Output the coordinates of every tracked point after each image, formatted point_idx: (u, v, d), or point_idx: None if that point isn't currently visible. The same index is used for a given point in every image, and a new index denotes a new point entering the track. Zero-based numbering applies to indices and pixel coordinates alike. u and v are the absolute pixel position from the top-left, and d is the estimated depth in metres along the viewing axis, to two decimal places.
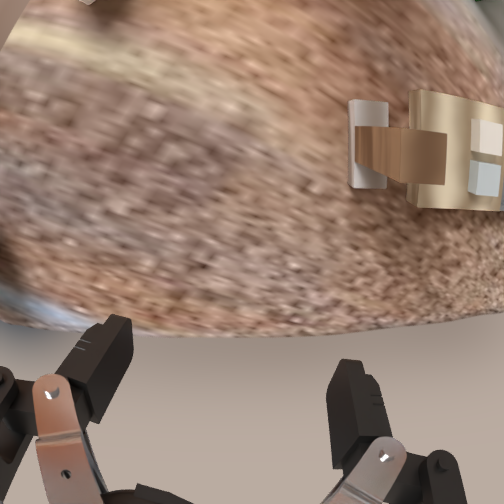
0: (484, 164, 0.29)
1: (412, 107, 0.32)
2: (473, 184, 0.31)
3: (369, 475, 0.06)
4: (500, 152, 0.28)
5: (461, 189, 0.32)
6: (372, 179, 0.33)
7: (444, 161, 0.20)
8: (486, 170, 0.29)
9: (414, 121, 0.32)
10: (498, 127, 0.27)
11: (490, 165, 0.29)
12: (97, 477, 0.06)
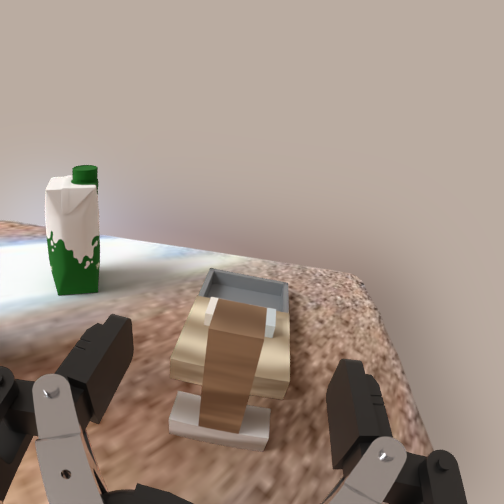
0: None
1: (186, 376, 0.36)
2: (265, 330, 0.41)
3: (369, 475, 0.06)
4: None
5: (270, 343, 0.40)
6: (259, 420, 0.29)
7: (244, 304, 0.26)
8: None
9: (201, 376, 0.35)
10: (213, 300, 0.43)
11: None
12: (97, 477, 0.06)
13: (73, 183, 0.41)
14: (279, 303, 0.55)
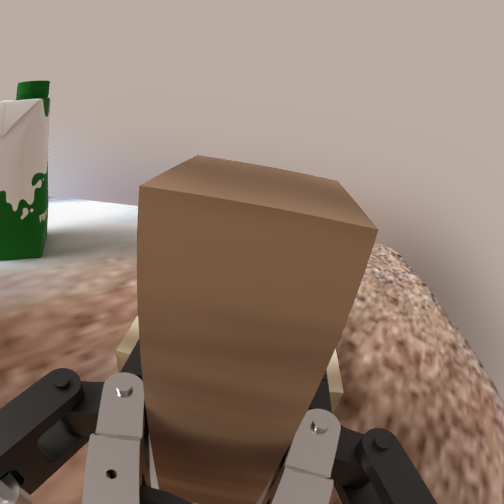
0: None
1: None
2: None
3: (308, 451, 0.07)
4: None
5: None
6: None
7: (272, 168, 0.08)
8: None
9: None
10: None
11: None
12: (144, 481, 0.06)
13: (15, 100, 0.24)
14: None
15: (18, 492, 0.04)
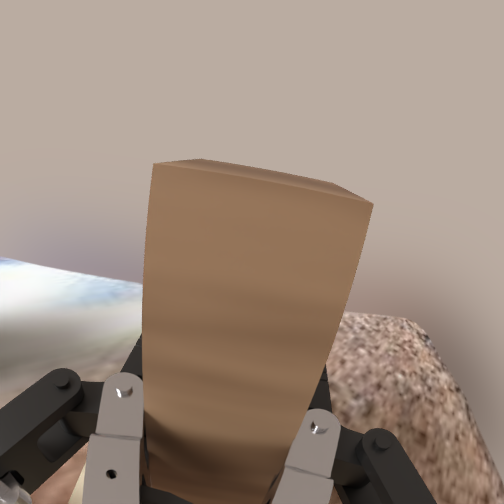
0: None
1: None
2: None
3: (308, 451, 0.07)
4: None
5: None
6: None
7: None
8: None
9: None
10: None
11: None
12: (144, 482, 0.06)
13: None
14: None
15: (18, 492, 0.04)
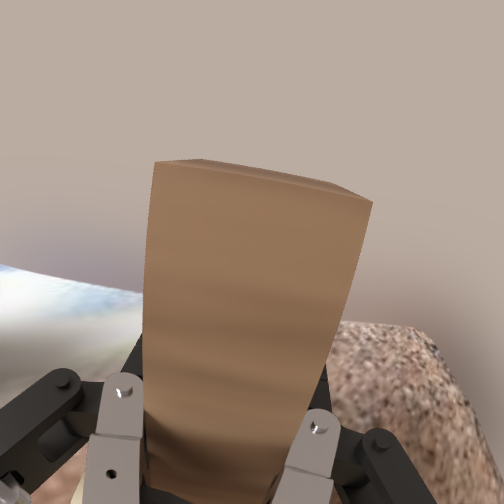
0: None
1: None
2: None
3: (308, 451, 0.07)
4: None
5: None
6: None
7: (272, 171, 0.09)
8: None
9: None
10: None
11: None
12: (144, 482, 0.06)
13: None
14: None
15: (18, 492, 0.04)
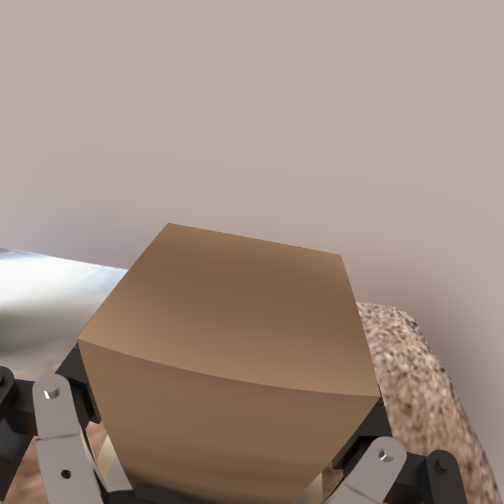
0: None
1: None
2: None
3: (369, 475, 0.06)
4: None
5: None
6: None
7: (260, 243, 0.07)
8: None
9: None
10: None
11: None
12: (97, 477, 0.06)
13: None
14: None
15: None
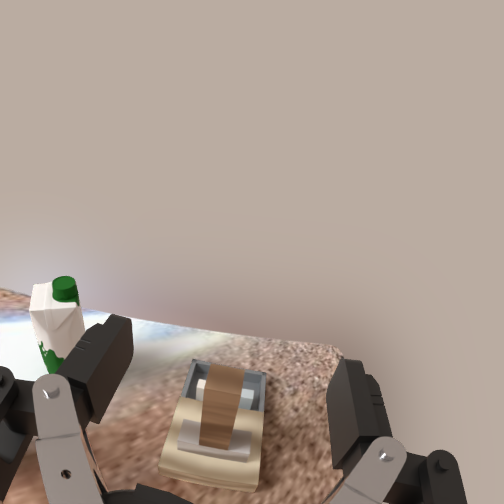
0: None
1: (172, 476, 0.36)
2: (246, 393, 0.50)
3: (369, 475, 0.06)
4: None
5: None
6: (243, 440, 0.39)
7: (228, 367, 0.35)
8: None
9: (185, 477, 0.36)
10: None
11: None
12: (97, 477, 0.06)
13: (54, 299, 0.41)
14: (257, 392, 0.55)
15: None
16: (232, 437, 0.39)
